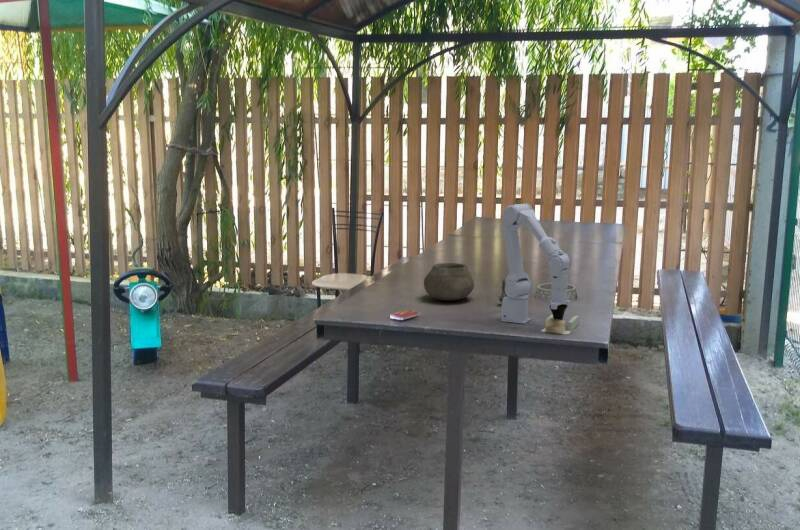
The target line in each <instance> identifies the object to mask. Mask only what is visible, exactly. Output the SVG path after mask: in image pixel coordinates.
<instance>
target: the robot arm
mask: <svg viewBox="0 0 800 530" xmlns="http://www.w3.org/2000/svg"><path fill="white" fill-rule="evenodd" d="M502 217H503V220H502V235H503V242H504V247H505V255H506V260H507V261H506V262H507V268H508V275H507V276H505V278H504V279H505V282H506V285H505V293H506V295H507V296H508V297H504V298H503V300H502V307H501V319H500V321H501V322H507V323H515V324H526V323H528V322H529V321H530V320H531V319H532V318H531V317H528V315H529V314H528V313H529V311H528V310H529V297H530V294H531V293H532V291H533V284H532V282H531V279H530V276H529V274H528V273H527V272H525V270H524V264H523V263H524V262H523V257H522V249H521V243H520V238H519V237H520V236H519V232H518V230H519V229H520V227H521V226H526V227H527V229H528V230H529V231H530V232H531V233H532V234H533V236H534V237H535V238H536V240H537V241H538V242H539V244H538V247H539V249H540V250H541V252H542V253H543V255H544V256H545V258H546V259H547V260H548V263H547V264H548V268H549V269H550V274H551V276H550V278H551V280H550V283H551V299H550V302H549V303H550V305H549V309H550V311H551V315H552V314H553V318H554V319H560V320H564V319H563V318H564V315H565V312H566V310H567V308H568V304H570V303H571V302H570V300H567V285H568V284H569V282H568V281H569V280H568V279H569V269H570V267H572V262H573V261H572V258H571V256H570V255H569V254H568V253H566V252H564V251H563V250H562V249H561V248H560V246H559V245H558V243H557V240H556V239H555V238H553V237H551V236H548V235H547V233H546V232H545V230H544V229H543V227H542V225H541V223H540V222H539V220H538V218H537V216H536V212H535V210H534V208H532V206H531V205H530V204H529V203H527V202H526V203H521V204H520V203H519V204H509V205H507V206H506V207H505V209H504V210H503V211H502Z"/></svg>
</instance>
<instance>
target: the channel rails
mask: <svg viewBox="0 0 800 530" xmlns="http://www.w3.org/2000/svg"><path fill="white" fill-rule="evenodd" d="M549 318H551V319H554V318H553V314H552V313H551V314H550V315H549V316H548V317H547V318H546V319H545V320H544V328H546V321H547V320H548V319H549ZM579 324H580V316H579V315H574V316H573V317H572V318H570V320H569V321H567V329H566V330H567V331H571V332H572V331H573V330H575V328H576V327H577V326H578V325H579Z"/></svg>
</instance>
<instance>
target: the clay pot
mask: <svg viewBox="0 0 800 530" xmlns="http://www.w3.org/2000/svg"><path fill="white" fill-rule="evenodd" d="M474 287H475V280H474V278H473V276H472V275H471V273H470V271H469V268H468V265H467V264H464V263H459V262H458V263H456V262H441V263H440V262H439V263H435V264H433V265H432V267H431V269H430V270H429V272H428V273H427V274H426V275H425V277H424V279H423V288H424V290H425V292H426V294H428V295H429V296H430V297H432V298H435V300H439V301H445V302H446V301H447V302H448V301H451V302H453V301H458V300H459V301H460V300H462V299H464V298H466V297H468V296H469V295H470V294H471V293H472V292H473V290H474Z"/></svg>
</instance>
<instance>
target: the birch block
mask: <svg viewBox="0 0 800 530" xmlns="http://www.w3.org/2000/svg"><path fill="white" fill-rule="evenodd" d="M566 323H567V322H566V319H563V320H560V319H551V318H549V319H548V320H547V321H546V329H545V332H544V333H550V334H558V335H564V334H563V333H564V332H565V330H566Z"/></svg>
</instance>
